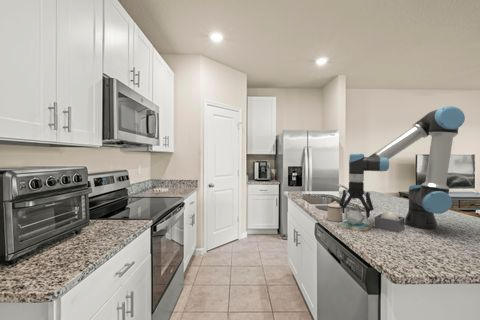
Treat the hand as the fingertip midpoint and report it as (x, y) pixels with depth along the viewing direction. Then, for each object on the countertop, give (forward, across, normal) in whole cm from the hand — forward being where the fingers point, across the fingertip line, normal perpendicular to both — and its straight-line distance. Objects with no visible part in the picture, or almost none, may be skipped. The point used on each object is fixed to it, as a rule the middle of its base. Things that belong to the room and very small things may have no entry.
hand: (355, 221), depth 141 cm
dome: (+2, +14, +11) cm, 18 cm away
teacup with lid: (+3, -16, +7) cm, 17 cm away
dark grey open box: (+3, +14, +11) cm, 18 cm away
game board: (+3, 0, 0) cm, 3 cm away
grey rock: (+2, 0, 0) cm, 2 cm away
